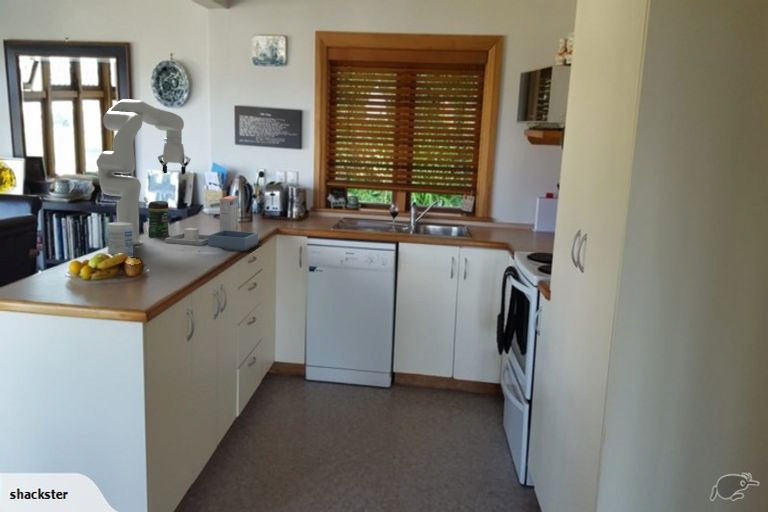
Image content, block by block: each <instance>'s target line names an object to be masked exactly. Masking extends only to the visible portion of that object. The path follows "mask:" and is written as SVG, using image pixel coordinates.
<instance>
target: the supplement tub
mask: <svg viewBox="0 0 768 512" xmlns="http://www.w3.org/2000/svg"><path fill="white" fill-rule="evenodd" d="M133 245H134V244H133V227H132V223H127V222H117V221H115V222H114V221H113V222H109V223H107V253H108V254H118V253H125V254H127V255H128V256H129V257H134V246H133Z"/></svg>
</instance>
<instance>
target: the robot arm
mask: <svg viewBox="0 0 768 512" xmlns="http://www.w3.org/2000/svg"><path fill="white" fill-rule="evenodd" d="M143 122H144V123H145V124H148V125H150V126H154V127H155V128H156V129H157V130H159V131H164V132H165V133H166V135H165V136H166V137H164V138H163V141H165V143H164V145H163V153H162V154H161V155H158V156H157V159H158V162H159V163H160V164H161V166H162V172H163V173H162V174H168V166H167V164H168V163H171V164H180V165H181V168H180V174H181V175H185V174H186V171H187V169H186V168H187V166H188V165H189V164H190V162H191V159H192V158H190V157H188V156H186V155H185V149H184V144H183V142H182V140H183V139H182V136H183V135H182V133H183V131H182V130H183V129H184V127H185V122H184V119H183V118H182V117H181V116H180V115H178V114H177V113H174V112H171V111H167V110H165V109H161V108H157V107H154V106H152V105H150V104H148V103H147V102H144V101H142V100H140V99H139V100H138V99H137V100H135V99H120V100H119V101H117V102H115V103H114V104H113V105H112V106H111V108H109V109H108V110H107V111H106V112H105V114H104V115H103V118H102V123H103V126H104V128H105V129H107V130H109V131H113V132H116V133H115V135H114V137H113V140H112V147H113V150H105V151H102V152H101V153H100V154H99V156H98V159H97V169H98V170H97V171H98V178H99V185H100V190H101V192H102V193H103V194H104V195H107V196H112V197H113V196H115V197H120V199H119V201H117V204H116V222H127V223H132V227H133V247H137V246H138V245H139V244H140V245H141V244H143V243H144V241H143V240H141V239H140V205H139V204H140V195H141V190H142V189H141V187H142V185H141V181H140V180H139V178H137V177H135V176H131V175H130V176H129V175H119V174H130V173H133V172H134V171H135V170H136V160H135V149H134V141H135V138H136V135H137V134H138V133H139V131H140V130H141V128H142V125H143ZM185 160H186V161H185ZM115 173H116V174H115Z"/></svg>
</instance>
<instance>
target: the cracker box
mask: <svg viewBox="0 0 768 512" xmlns="http://www.w3.org/2000/svg"><path fill="white" fill-rule="evenodd" d="M222 230H228V231H239V196H233V195H228V196H225V197H221V198H219V231H222Z"/></svg>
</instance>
